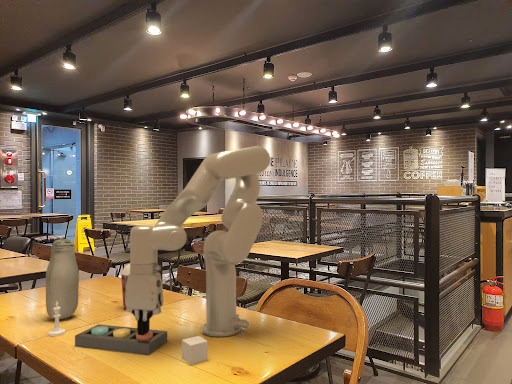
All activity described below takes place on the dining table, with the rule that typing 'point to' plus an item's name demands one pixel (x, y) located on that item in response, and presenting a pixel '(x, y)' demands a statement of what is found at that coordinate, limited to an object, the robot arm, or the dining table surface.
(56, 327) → the chess piece
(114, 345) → the button panel
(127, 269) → the smoothie
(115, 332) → the mustard button
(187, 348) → the white cube
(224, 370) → the dining table surface
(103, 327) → the teal button
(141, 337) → the brick button
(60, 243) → the grey bottle
